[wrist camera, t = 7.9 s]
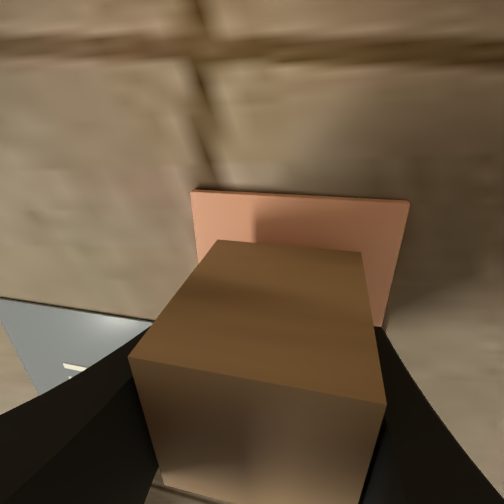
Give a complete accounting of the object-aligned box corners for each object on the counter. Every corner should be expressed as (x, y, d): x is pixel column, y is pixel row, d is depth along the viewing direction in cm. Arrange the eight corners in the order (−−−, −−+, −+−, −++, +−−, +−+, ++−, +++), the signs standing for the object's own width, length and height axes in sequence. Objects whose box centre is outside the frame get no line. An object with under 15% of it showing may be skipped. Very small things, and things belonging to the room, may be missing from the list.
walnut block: (342, 360, 11) (348, 535, 7) (225, 341, 12) (164, 484, 8) (360, 252, 9) (387, 404, 5) (217, 239, 10) (127, 356, 6)
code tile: (184, 447, 19) (183, 449, 19) (50, 414, 21) (48, 416, 21) (158, 322, 14) (157, 324, 14) (-11, 296, 16) (-14, 297, 16)
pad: (370, 364, 13) (371, 370, 12) (210, 338, 14) (207, 343, 14) (408, 200, 9) (410, 203, 9) (193, 189, 11) (190, 191, 11)
